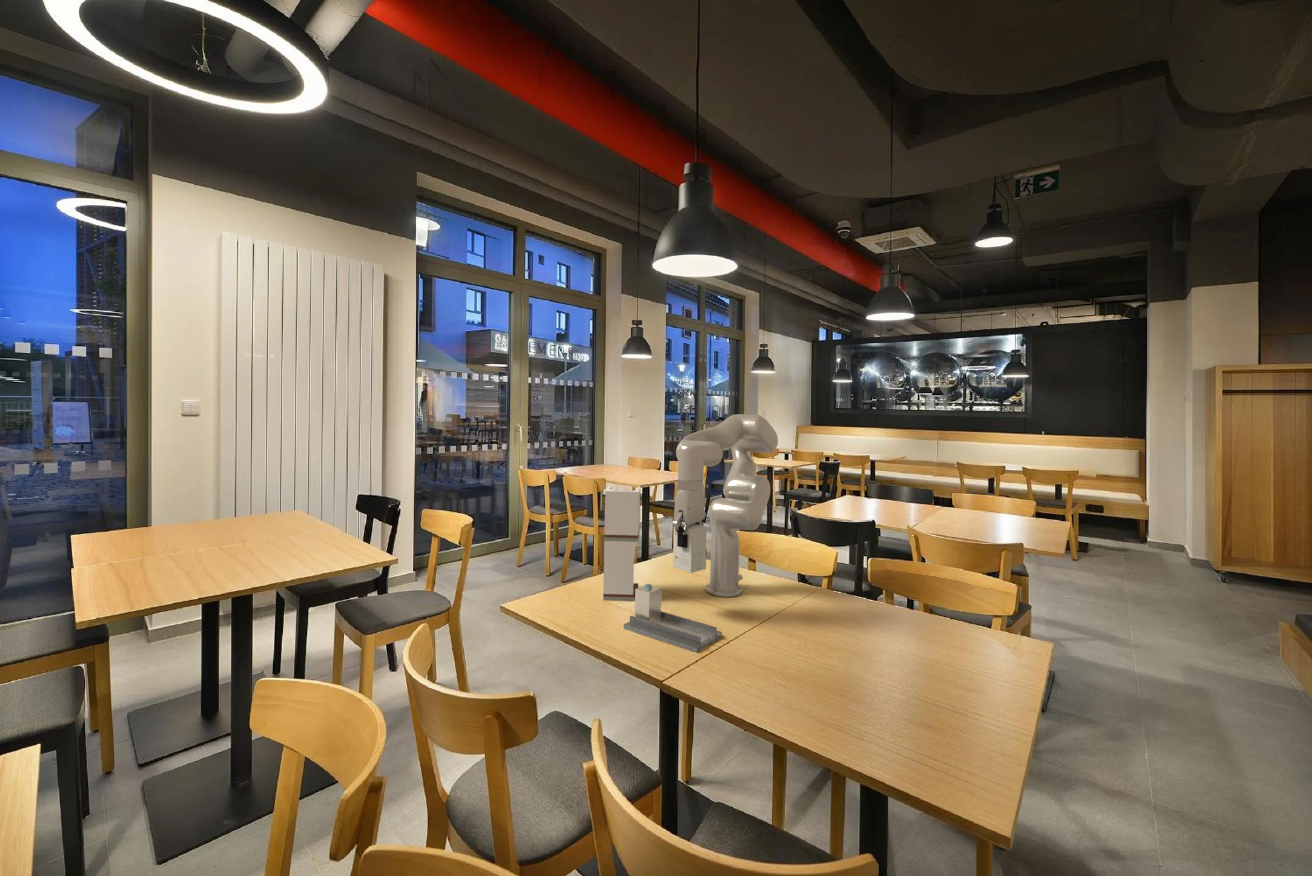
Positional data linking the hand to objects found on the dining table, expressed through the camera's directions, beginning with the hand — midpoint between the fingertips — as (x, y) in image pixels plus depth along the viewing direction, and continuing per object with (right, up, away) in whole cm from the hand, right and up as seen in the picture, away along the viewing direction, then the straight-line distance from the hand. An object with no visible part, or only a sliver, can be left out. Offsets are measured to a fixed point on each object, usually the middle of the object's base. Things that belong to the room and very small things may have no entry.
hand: (689, 543), depth 167 cm
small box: (0, -8, +1) cm, 8 cm away
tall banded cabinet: (-21, -20, +17) cm, 34 cm away
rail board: (-6, -22, -12) cm, 26 cm away
